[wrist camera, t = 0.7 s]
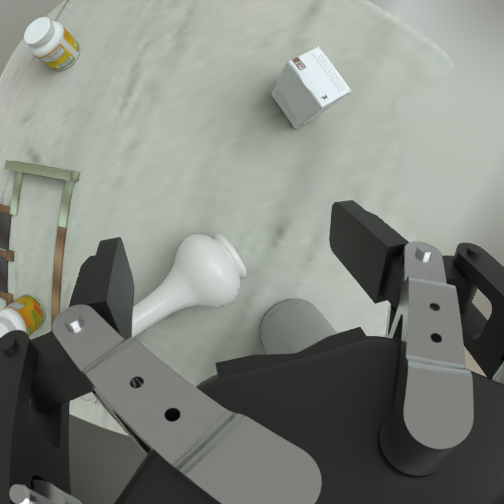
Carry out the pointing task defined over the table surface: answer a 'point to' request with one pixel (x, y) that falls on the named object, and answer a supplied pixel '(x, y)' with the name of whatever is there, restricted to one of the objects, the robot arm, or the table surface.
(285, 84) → the skincare box
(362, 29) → the table surface
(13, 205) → the lane board
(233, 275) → the flower vase
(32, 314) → the supplement bottle
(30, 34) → the supplement bottle
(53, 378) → the robot arm
